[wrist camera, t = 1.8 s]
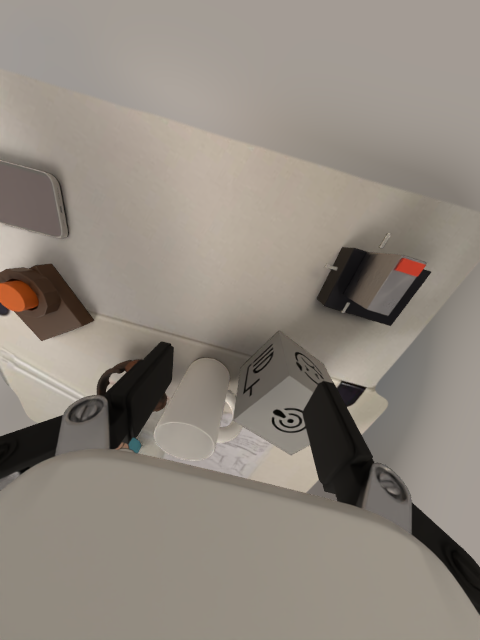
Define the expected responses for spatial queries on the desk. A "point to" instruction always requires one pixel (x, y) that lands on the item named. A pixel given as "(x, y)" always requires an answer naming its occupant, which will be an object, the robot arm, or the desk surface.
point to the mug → (197, 413)
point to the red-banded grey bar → (382, 280)
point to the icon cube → (278, 392)
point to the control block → (49, 301)
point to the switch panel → (343, 275)
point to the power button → (17, 296)
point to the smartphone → (31, 200)
